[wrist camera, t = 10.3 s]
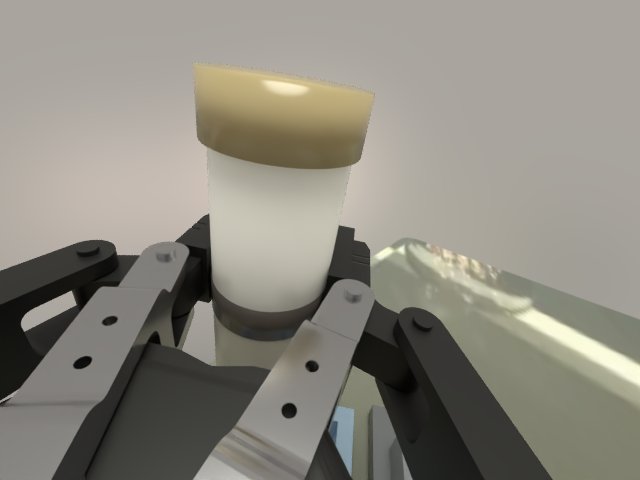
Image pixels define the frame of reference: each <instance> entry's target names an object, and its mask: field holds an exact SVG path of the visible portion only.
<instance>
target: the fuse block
mask: <svg viewBox="0 0 640 480" xmlns="http://www.w3.org/2000/svg"><path fill="white" fill-rule="evenodd" d="M369 480H413V479H412V477H411V474H410V472H409V469H408V466H407V464H406V461H405V458H404V456H403V453H402V450H401V448H400V445H399V442H398V440H397V437H396V434H395V432H394V429H393V427H392V424H391V421H390V419H389V416H388V413H387V411H386V408H384V407H380V406H376V405H372V408H371V410H370V413H369Z"/></svg>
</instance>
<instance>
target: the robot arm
mask: <svg viewBox="0 0 640 480" xmlns="http://www.w3.org/2000/svg"><path fill="white" fill-rule="evenodd" d="M354 231H355V229H354V228H349V227H344V226H340V225H339V227H338V232H337V236H336V241H335V246H334V251H333V255H332V260H331V263H330V267H329V271H328V276H327V281H326V286H325V291H324V295H323V300H322V304H321V305H320V307H319V309H318V310H317V312H316V314H315V315H314V317H313V318H312V320H311V321H309V320H305V321H304V322H303V323H302V324H301V326H300V327H299V329H298V330H297V332H296V334H295V335H294V337H293V338H292V340H291V341H290V343H289V344H288V346H287V347H286V349H285V350H284V352H283V353H282V355H281V357H280V358H279V360H278V361H277V363H276V364H275V366H274V367H273V369H272V370H269V369H265V368H260V367H256V366H210V365H208V364H206V363H204V362H202V361H200V360H198V359H197V358H195V357H193V356H191V355H189V354H187V353H185V352H183V351H182V348H183V345H184V342H185V339H186V336H187V333H188V331H189V327H190V325H191V322H192V319H193V316H194V305H195V304H196V302H197V301H203V302H207V303H209V302H210V301H211V300H212V286H211V271H212V263H211V239H210V216H209V214H208V215H205V216H203V217H202V218H201V219H200V220H199V221H198V222H197V223H196V224H194V225H193V226H192V228H190V229H189V230H187V231H186V232H185V233H184V234H183V235H182V236H181V237H180V238H178V239H177V240H176V241H175V242H161V243H157V244H154V245H151V246H149V247H148V248H146V249H145V250H144V251H143V252H142V254H141V255H138V256H137V255H134V256H133V255H117V252H116V248H115V246H114V244H112V243H111V242H108V241H103V240H89V241H83V242H79V243H76V244H73V245H70V246H68V247H65V248H62V249H59V250H57V251H54V252H51V253H48V254H46V255H43V256H40V257H37V258H35V259H32V260H29V261H26V262H23V263H21V264H18V265H15V266H12V267H10V268H7V269H4V270H1V271H0V400H2V399H3V398H5V397H7V396H8V395H10V394H12V393H13V392H15V391H16V390H18V389H19V388H20V389H19V391H18V392H17V393H16V394H15V395H14V396H13V397H12V398H9V399H7V400H5V401H3V402H1V403H0V480H352V478H351V476H350V474H349V472H348V470H347V468H346V466H345V463H344V461H343V459H342V457H341V455H340V453H339V451H338V449H337V447H336V445H335V443H334V441H333V439H332V437H331V435H330V433H329V430H330V427H331V425H332V422H333V419H334V416H335V413H336V410H337V407H338V405H339V402H340V399H341V396H342V394H343V391H344V388H345V386H346V383H347V380H348V378H349V375H350V372H351V369H352V367H353V366H355V367H357V368H359V369H361V370H363V371H364V372H366V373H368V374H370V375H372V376H374V377H375V381H376V384H377V387H378V390H379V392H380V395H381V397H382V400H383V403H384V405H385V408H386V411H387V413H388V416H389V419H390V421H391V424H392V427H393V429H394V432H395V434H396V437H397V440H398V442H399V445H400V448H401V450H402V453H403V456H404V458H405V461H406V464H407V466H408V469H409V472H410V474H411V477H412V479H413V480H553V479H552V478H551V477H550V475H549V474H548V472H547V471H546V470H545V468H544V467H543V465H542V464H541V462H540V461H539V460H538V458H537V457H536V455H535V454H534V453H533V451H532V450H531V448H530V447H529V445H528V444H527V443H526V441H525V440H524V438H523V437H522V435H521V434H520V433H519V431H518V430H517V428H516V427H515V426H514V424H513V423H512V421H511V420H510V418H509V417H508V416H507V414H506V413H505V411H504V410H503V409H502V407H501V406H500V404H499V403H498V401H497V400H496V399H495V397H494V396H493V394H492V393H491V391H490V390H489V389H488V387H487V386H486V384H485V383H484V382H483V380H482V379H481V377H480V376H479V374H478V373H477V372H476V370H475V369H474V367H473V366H472V364H471V363H470V362H469V360H468V359H467V357H466V356H465V355H464V353H463V352H462V350H461V349H460V347H459V346H458V345H457V343H456V342H455V340H454V339H453V338H452V336H451V335H450V333H449V332H448V330H447V329H446V328H445V326H444V325H443V323H442V322H441V321H440V320H439V319H438V318H437V317H436V316H435V315H433V314H432V313H430V312H428V311H426V310H423V309H420V308H414V307H410V308H405V309H403V310H402V311H401V312H400V313H399V314H398V313H396V312H393V311H391V310H389V309H387V308H385V307H383V306H382V305H381V304H379V303H378V302H377V301H376V300H375V295H374V293H373V291H372V290H371V288H370V249H369V248H368V246H367V245H366V244H365V243H364V242H360V241H354ZM69 291H72V292H73V295H74V298H75V301H76V304H77V305H76V306H74V307H72V308H70V309H68V310H67V311H65V312H62V313H61V314H59V315H57V316H55V317H53V318H51V319H49V320H47V321H45V322H43V323H41V324H39V325H37V326H35V327H33V328H31V329H29V330H28V331H25V332H24V331H23V329H22V327H21V320H22V318H23V317H24V315H25V314H26V313H27V312H29V311H30V310H32V309H33V308H35V307H38V306H40V305H42V304H44V303H46V302H48V301H50V300H52V299H54V298H57V297H59V296H61V295H63V294H65V293H67V292H69Z"/></svg>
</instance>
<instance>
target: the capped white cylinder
mask: <svg viewBox="0 0 640 480" xmlns="http://www.w3.org/2000/svg"><path fill="white" fill-rule="evenodd" d="M193 73H194V90H195V107H196V123H197V124H196V125H197V137H198V140H199V141H200V142H201V143H202V144H204V145H205V146H206V147H207V169H208V192H209V216H210V239H211V263H212V271H211V286H212V306H213V311H214V332H215V356H216V366H256V367H260V368H265V369H269V370H272V369H273V367H274V366H275V364H276V363H277V361H278V360H279V358H280V357H281V355H282V353H283V352H284V350H285V349H286V347H287V346H288V344H289V343H290V341H291V340H292V338H293V337H294V335H295V334H296V332H297V330H298V329H299V327H300V326H301V324H302V323H303V322H304V321H305V320H309V321H311V320H312V318H313V317H314V315H315V314H316V312H317V310H318V309H319V307H320V305H321V304H322V300H323V295H324V291H325V286H326V281H327V276H328V271H329V267H330V263H331V260H332V255H333V251H334V246H335V241H336V236H337V232H338V227H339V222H340V217H341V212H342V208H343V203H344V198H345V194H346V189H347V184H348V179H349V174H350V169H351V165H353V164H355V163H357V162H358V161H359V160H360V158H361V155H362V150H363V146H364V141H365V137H366V133H367V128H368V124H369V119H370V115H371V110H372V106H373V101H374V97H375V94H374V93H373V92H370V91H367V90H364V89H360V88H356V87H352V86H348V85H344V84H338V83H334V82H330V81H324V80H319V79H314V78H309V77H303V76H298V75H291V74H286V73H280V72H274V71H268V70H261V69H254V68H247V67H240V66H232V65H223V64H212V63H194V64H193Z"/></svg>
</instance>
